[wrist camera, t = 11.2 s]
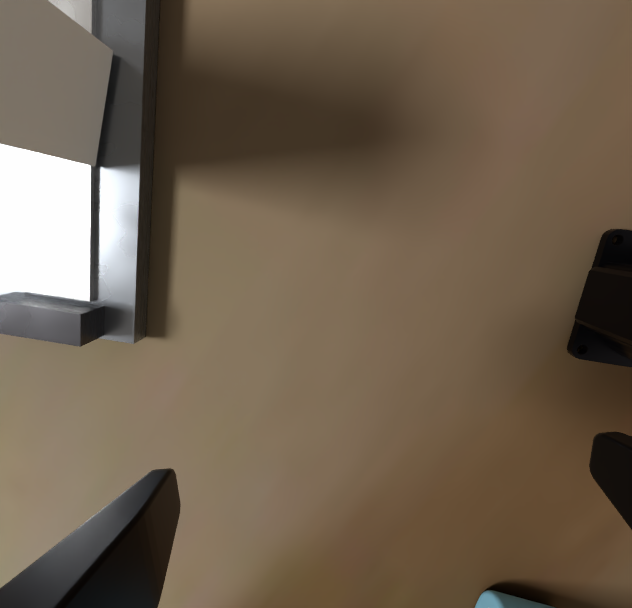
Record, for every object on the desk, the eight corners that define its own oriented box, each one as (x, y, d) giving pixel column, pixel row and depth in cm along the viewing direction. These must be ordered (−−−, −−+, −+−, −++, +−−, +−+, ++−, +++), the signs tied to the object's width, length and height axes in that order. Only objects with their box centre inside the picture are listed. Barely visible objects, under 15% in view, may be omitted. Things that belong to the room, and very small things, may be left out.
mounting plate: (166, -152, 15) (126, -240, 13) (145, 336, 20) (112, 355, 17) (-14, -173, 16) (-95, -264, 13) (7, 314, 21) (-48, 329, 18)
